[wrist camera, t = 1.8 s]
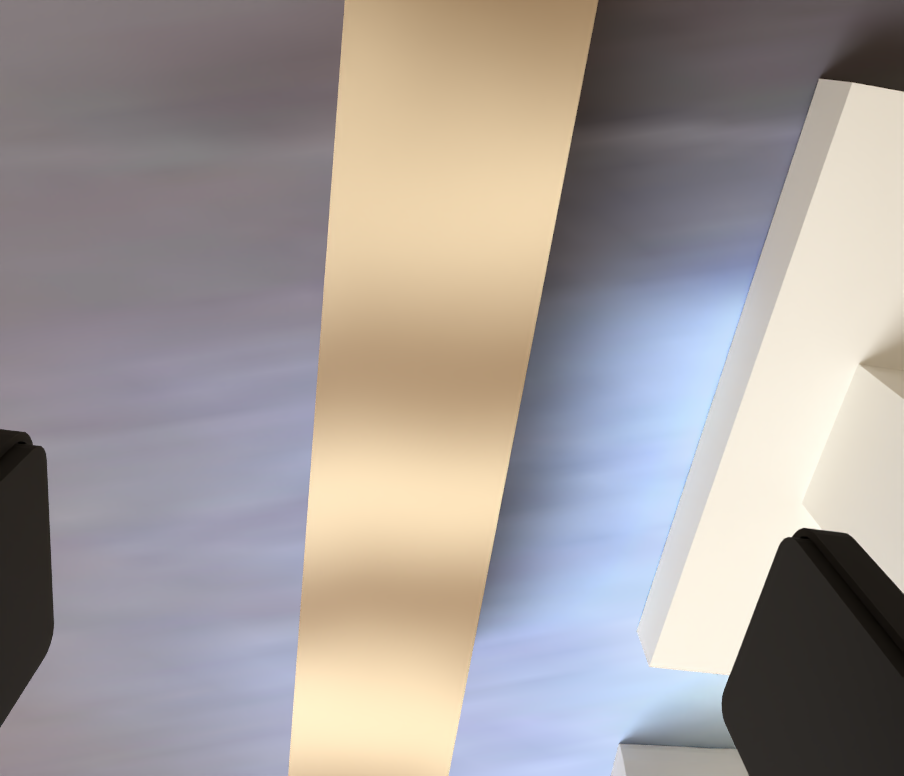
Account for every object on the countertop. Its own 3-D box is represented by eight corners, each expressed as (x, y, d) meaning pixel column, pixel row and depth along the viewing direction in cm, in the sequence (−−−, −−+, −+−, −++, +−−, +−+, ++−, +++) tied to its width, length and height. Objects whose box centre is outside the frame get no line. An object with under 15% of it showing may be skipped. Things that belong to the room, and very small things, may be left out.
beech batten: (397, -360, 14) (384, -541, 10) (607, -319, 15) (690, -475, 10) (313, 641, 24) (287, 782, 20) (441, 651, 25) (444, 793, 20)
